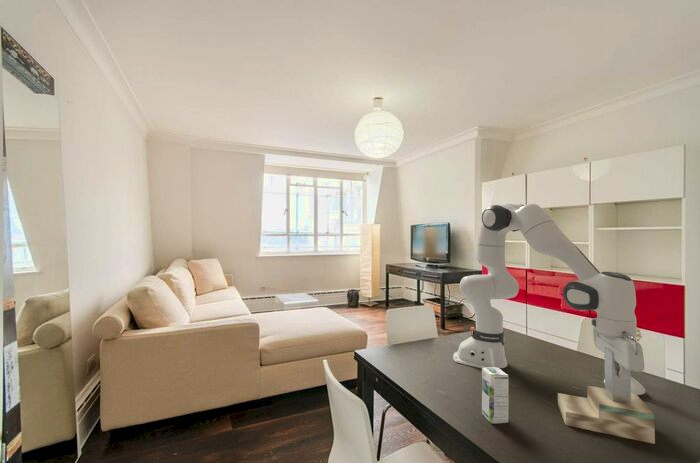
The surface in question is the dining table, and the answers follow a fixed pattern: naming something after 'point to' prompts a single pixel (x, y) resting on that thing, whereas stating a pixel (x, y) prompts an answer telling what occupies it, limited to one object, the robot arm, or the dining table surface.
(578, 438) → the dining table surface
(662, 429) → the dining table surface
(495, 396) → the syrup box
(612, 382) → the grey column
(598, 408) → the step stand
